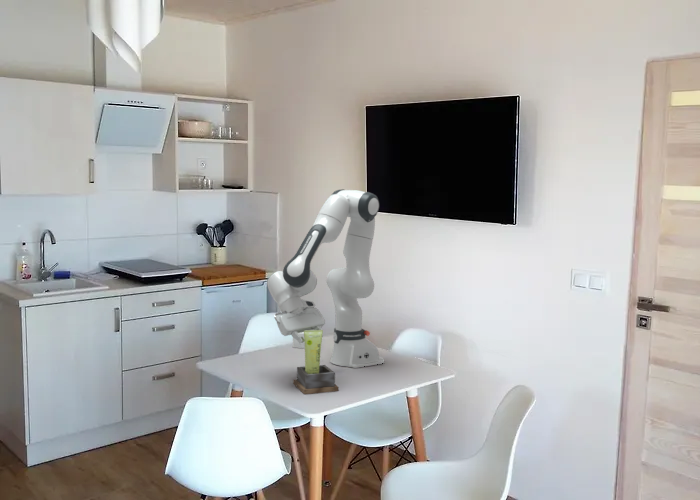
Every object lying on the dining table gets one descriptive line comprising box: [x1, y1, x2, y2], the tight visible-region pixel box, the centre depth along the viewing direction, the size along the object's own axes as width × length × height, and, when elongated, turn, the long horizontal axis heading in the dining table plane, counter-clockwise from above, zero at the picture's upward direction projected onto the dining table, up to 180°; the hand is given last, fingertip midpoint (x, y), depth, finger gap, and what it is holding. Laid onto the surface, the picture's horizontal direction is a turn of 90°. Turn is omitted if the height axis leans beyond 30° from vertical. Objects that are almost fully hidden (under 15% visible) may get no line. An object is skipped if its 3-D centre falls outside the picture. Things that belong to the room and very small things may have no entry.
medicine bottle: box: [292, 332, 305, 350], centre depth 307 cm, size 7×7×12 cm
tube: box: [304, 329, 324, 374], centre depth 248 cm, size 6×5×20 cm
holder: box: [292, 364, 339, 395], centre depth 249 cm, size 13×13×6 cm
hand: (311, 340), depth 250 cm, fingers open, 8 cm apart
